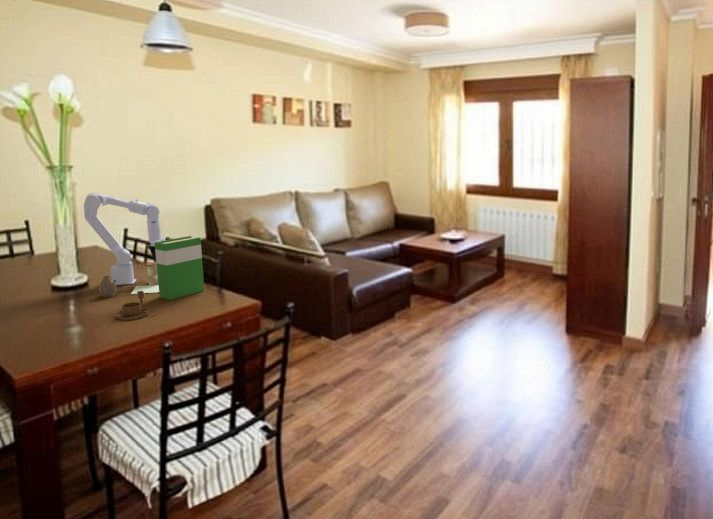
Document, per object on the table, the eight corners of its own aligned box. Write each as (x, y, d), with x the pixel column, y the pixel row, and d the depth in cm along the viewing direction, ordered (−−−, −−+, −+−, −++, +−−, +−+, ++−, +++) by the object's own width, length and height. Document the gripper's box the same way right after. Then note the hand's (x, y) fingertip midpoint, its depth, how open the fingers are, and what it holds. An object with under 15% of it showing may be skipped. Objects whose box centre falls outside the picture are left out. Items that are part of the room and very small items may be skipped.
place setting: (102, 319, 209) (100, 304, 207) (140, 304, 227) (139, 290, 226) (138, 324, 202) (137, 308, 201) (174, 308, 221) (173, 294, 219)
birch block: (149, 285, 252) (146, 264, 250) (150, 283, 257) (148, 262, 255) (160, 285, 253) (158, 264, 251) (161, 282, 258) (159, 261, 256)
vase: (121, 294, 239) (118, 275, 237) (109, 299, 232) (106, 279, 231) (108, 293, 241) (106, 274, 239) (96, 297, 235) (94, 277, 233)
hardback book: (194, 288, 248) (190, 235, 243) (204, 290, 244) (200, 237, 238) (159, 297, 234) (154, 242, 229) (169, 300, 230) (164, 244, 225)
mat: (130, 294, 238) (130, 293, 238) (136, 286, 251) (136, 285, 251) (169, 292, 242) (169, 291, 242) (172, 284, 254) (172, 283, 254)
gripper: (161, 232, 253) (164, 260, 256) (165, 227, 266) (168, 254, 269) (144, 233, 251) (148, 261, 254) (149, 228, 265) (153, 255, 268)
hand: (157, 258), depth 262 cm, fingers open, 7 cm apart
